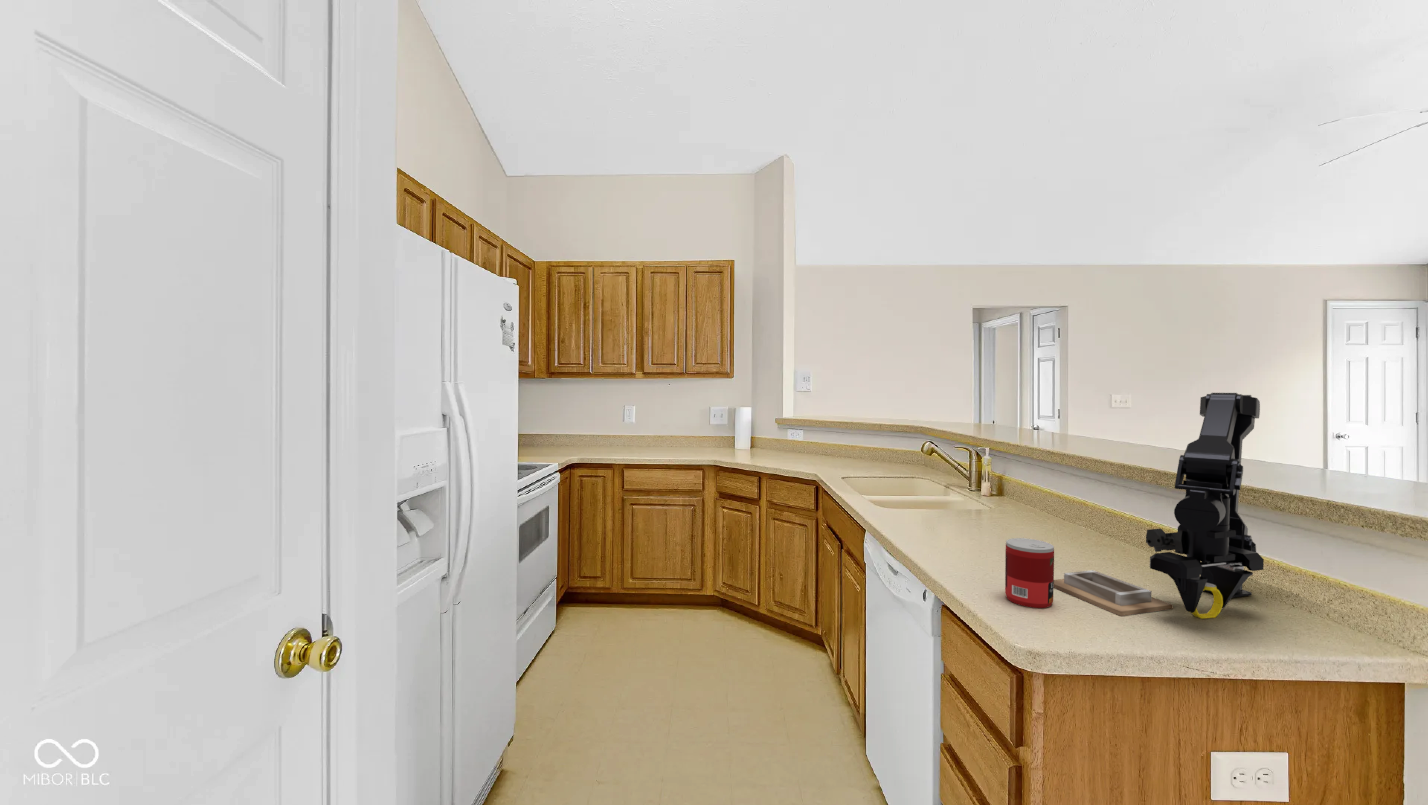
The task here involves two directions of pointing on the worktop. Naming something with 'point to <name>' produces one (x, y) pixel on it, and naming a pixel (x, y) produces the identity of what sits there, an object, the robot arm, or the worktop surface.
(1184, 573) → the robot arm
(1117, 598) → the track board
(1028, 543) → the canned food
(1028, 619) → the worktop surface
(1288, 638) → the worktop surface
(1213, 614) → the watch
